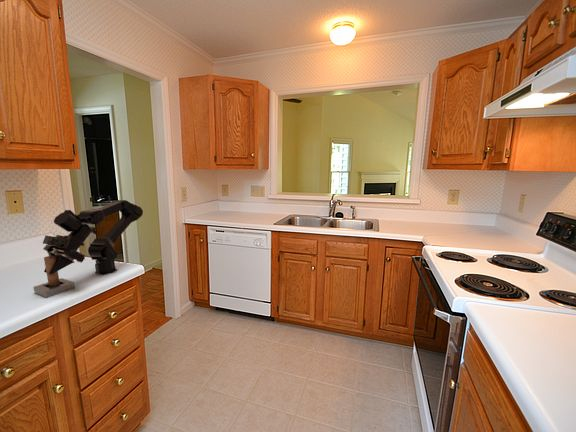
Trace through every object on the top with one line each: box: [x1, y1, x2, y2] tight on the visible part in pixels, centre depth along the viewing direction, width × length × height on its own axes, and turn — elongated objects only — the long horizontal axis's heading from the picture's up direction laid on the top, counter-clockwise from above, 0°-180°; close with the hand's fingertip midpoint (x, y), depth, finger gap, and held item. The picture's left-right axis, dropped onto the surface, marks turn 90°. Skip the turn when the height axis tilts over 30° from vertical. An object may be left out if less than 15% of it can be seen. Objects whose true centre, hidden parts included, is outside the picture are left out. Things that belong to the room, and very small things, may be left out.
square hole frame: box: [33, 277, 76, 299], centre depth 104 cm, size 9×9×2 cm
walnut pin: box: [43, 255, 60, 288], centre depth 103 cm, size 3×3×13 cm
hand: (47, 273), depth 102 cm, fingers closed on walnut pin, 3 cm apart
